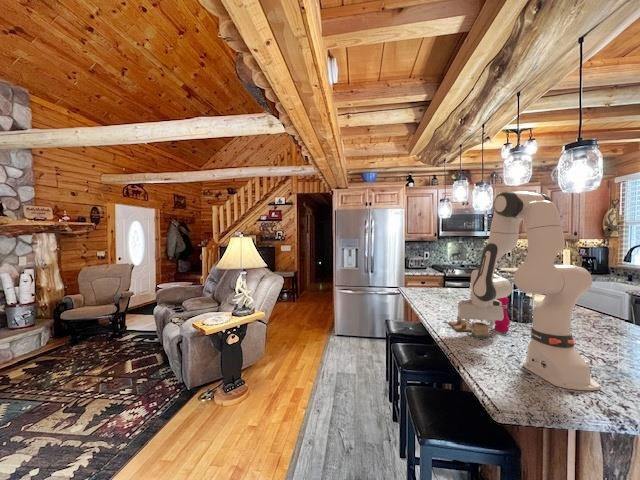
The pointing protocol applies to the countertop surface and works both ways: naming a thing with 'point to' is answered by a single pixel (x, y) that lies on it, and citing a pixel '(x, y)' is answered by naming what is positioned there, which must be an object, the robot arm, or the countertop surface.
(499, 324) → the pepper mill
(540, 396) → the countertop surface
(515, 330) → the countertop surface
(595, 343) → the countertop surface
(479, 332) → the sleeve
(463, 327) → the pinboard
